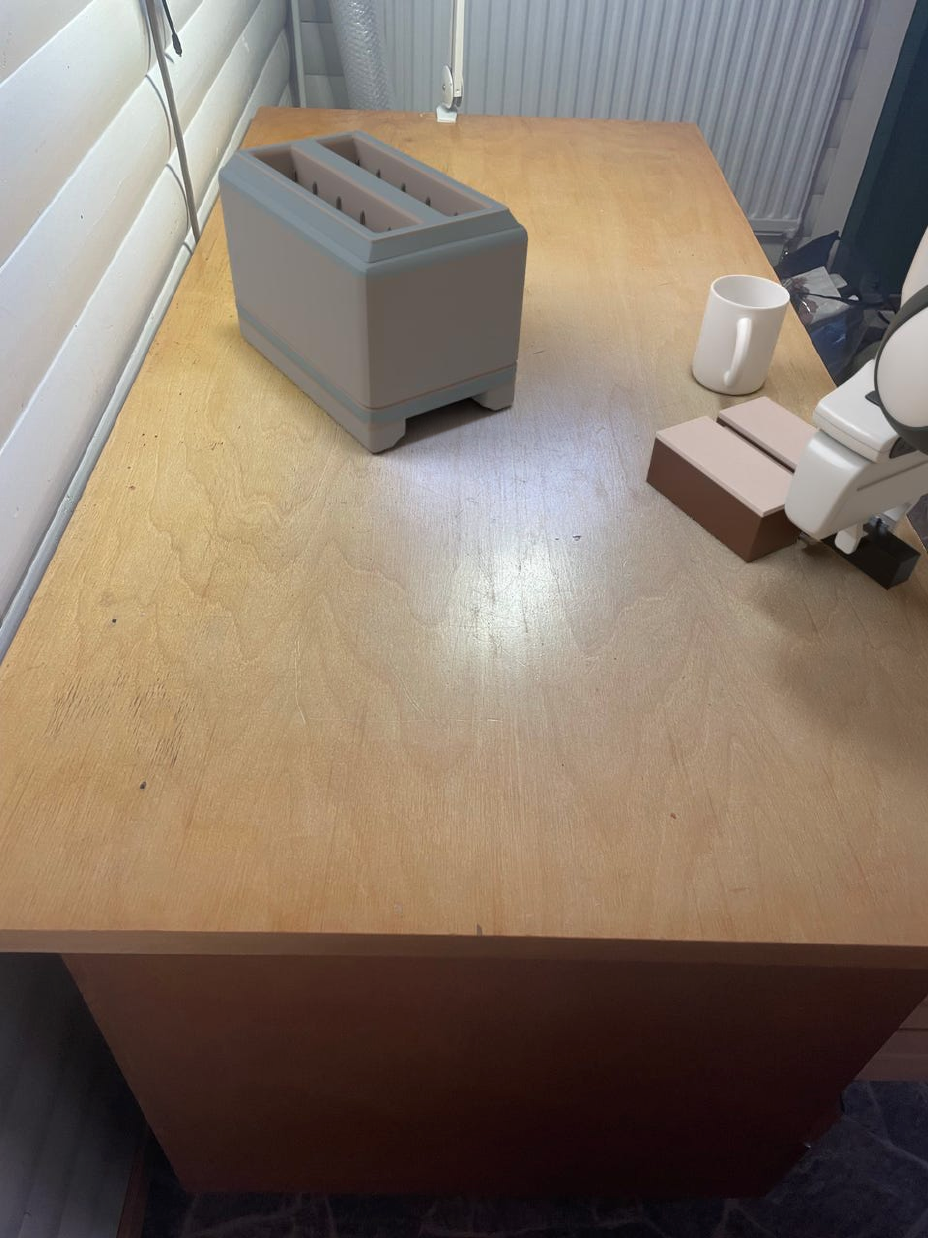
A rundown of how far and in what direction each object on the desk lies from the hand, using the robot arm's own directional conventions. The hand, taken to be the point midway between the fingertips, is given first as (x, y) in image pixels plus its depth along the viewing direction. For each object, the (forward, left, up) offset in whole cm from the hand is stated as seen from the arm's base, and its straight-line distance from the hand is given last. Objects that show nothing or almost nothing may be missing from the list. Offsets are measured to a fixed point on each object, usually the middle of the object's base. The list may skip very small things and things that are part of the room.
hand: (863, 540), depth 77 cm
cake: (+12, 0, -4) cm, 13 cm away
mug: (+29, -13, -4) cm, 32 cm away
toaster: (+52, +21, -4) cm, 57 cm away
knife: (+7, 0, -2) cm, 7 cm away
